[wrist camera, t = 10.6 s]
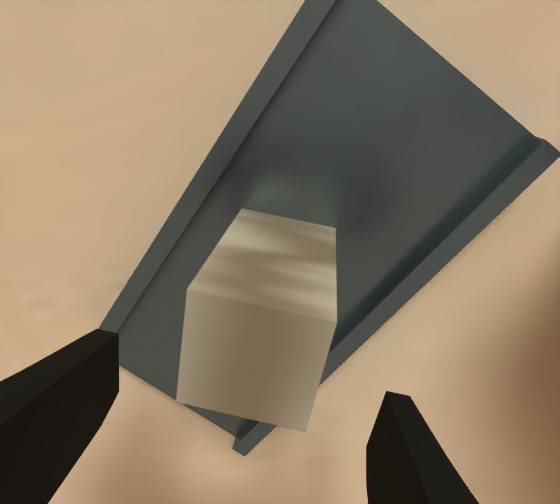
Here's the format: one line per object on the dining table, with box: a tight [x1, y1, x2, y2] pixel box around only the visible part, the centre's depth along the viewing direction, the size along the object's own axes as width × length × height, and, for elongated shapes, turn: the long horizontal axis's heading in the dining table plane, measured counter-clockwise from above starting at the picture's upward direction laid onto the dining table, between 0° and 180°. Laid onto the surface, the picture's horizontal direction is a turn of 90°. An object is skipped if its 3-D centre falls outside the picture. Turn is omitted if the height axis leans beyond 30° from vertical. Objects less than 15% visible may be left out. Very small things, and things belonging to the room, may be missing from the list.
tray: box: [98, 0, 560, 456], centre depth 18 cm, size 10×20×2 cm, turn 144°
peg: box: [176, 208, 337, 432], centre depth 15 cm, size 4×4×7 cm
